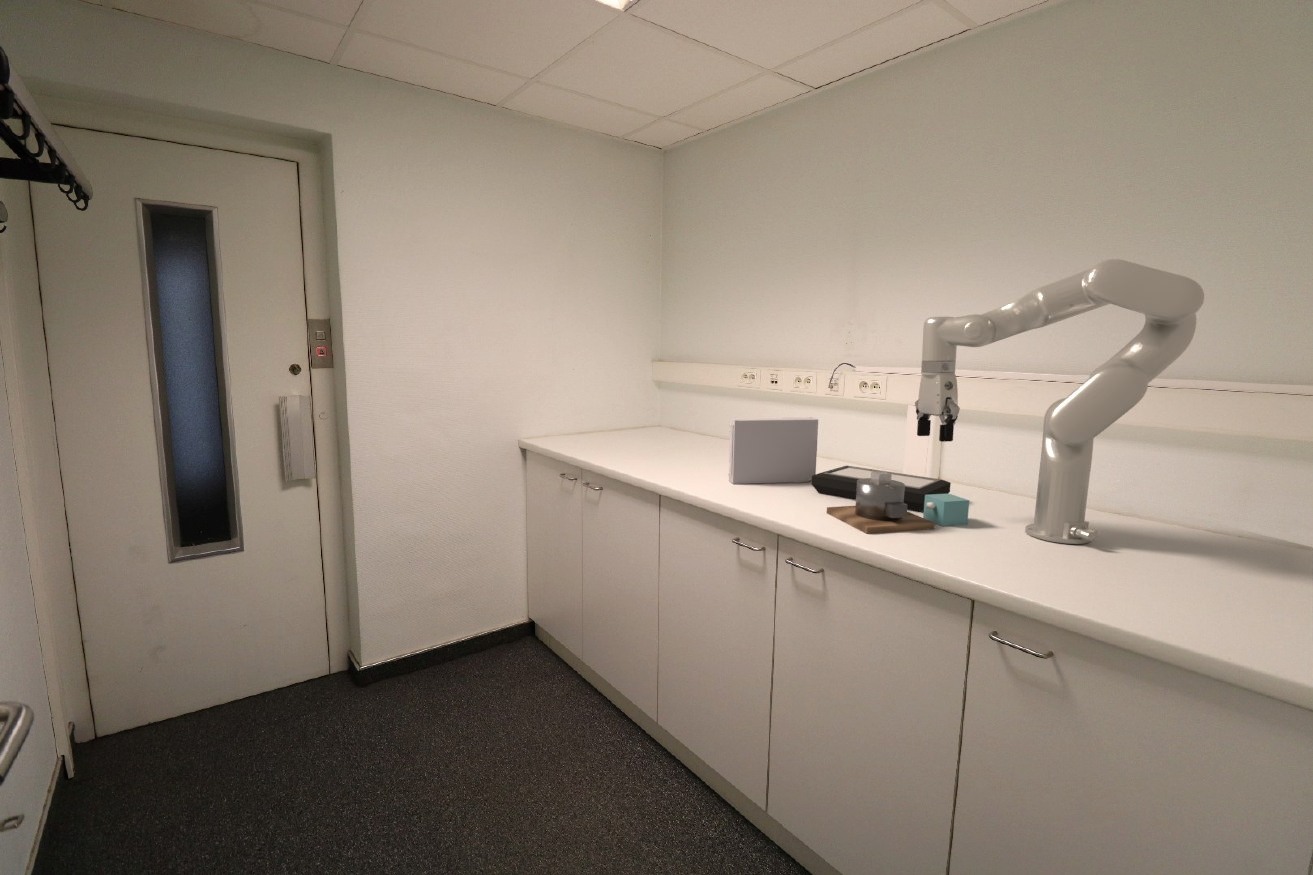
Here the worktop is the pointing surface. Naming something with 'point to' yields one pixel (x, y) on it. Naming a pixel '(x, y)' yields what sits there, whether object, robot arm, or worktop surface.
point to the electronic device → (846, 477)
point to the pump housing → (946, 509)
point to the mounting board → (877, 526)
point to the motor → (880, 498)
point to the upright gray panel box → (772, 450)
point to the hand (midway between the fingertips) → (934, 438)
